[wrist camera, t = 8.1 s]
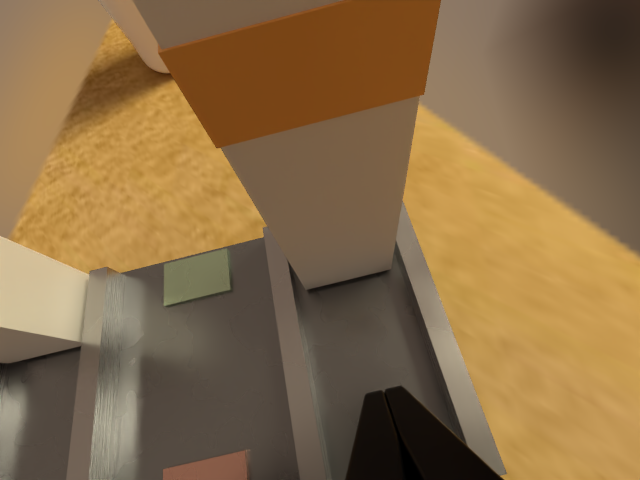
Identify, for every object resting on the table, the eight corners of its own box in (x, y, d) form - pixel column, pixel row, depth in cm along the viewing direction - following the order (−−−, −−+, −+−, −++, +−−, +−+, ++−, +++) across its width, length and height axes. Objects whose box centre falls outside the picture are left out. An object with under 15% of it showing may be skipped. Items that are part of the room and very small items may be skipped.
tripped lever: (392, 269, 14) (469, -159, 3) (304, 291, 14) (92, -54, 3) (371, 207, 15) (376, -239, 4) (292, 226, 15) (114, -163, 5)
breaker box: (480, 461, 12) (513, 481, 10) (-4, 570, 13) (-111, 619, 10) (395, 223, 17) (400, 188, 14) (40, 312, 18) (-24, 295, 15)
